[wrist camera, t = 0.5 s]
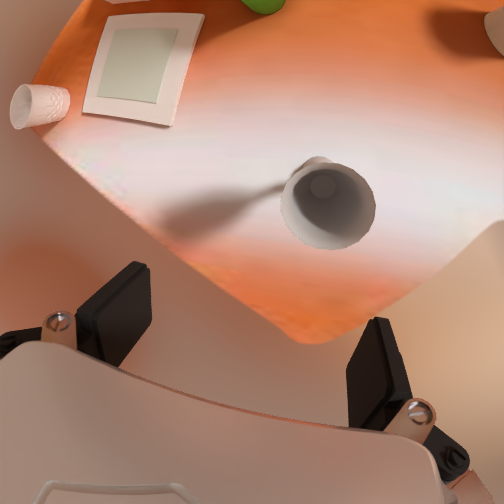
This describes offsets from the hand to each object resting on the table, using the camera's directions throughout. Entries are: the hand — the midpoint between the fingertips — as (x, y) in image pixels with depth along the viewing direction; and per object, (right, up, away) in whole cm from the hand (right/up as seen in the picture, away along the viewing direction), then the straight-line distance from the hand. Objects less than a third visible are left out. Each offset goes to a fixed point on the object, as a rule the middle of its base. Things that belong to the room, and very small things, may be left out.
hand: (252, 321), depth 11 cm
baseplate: (-18, +32, +23) cm, 43 cm away
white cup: (-36, +30, +28) cm, 54 cm away
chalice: (+9, +13, +26) cm, 30 cm away
